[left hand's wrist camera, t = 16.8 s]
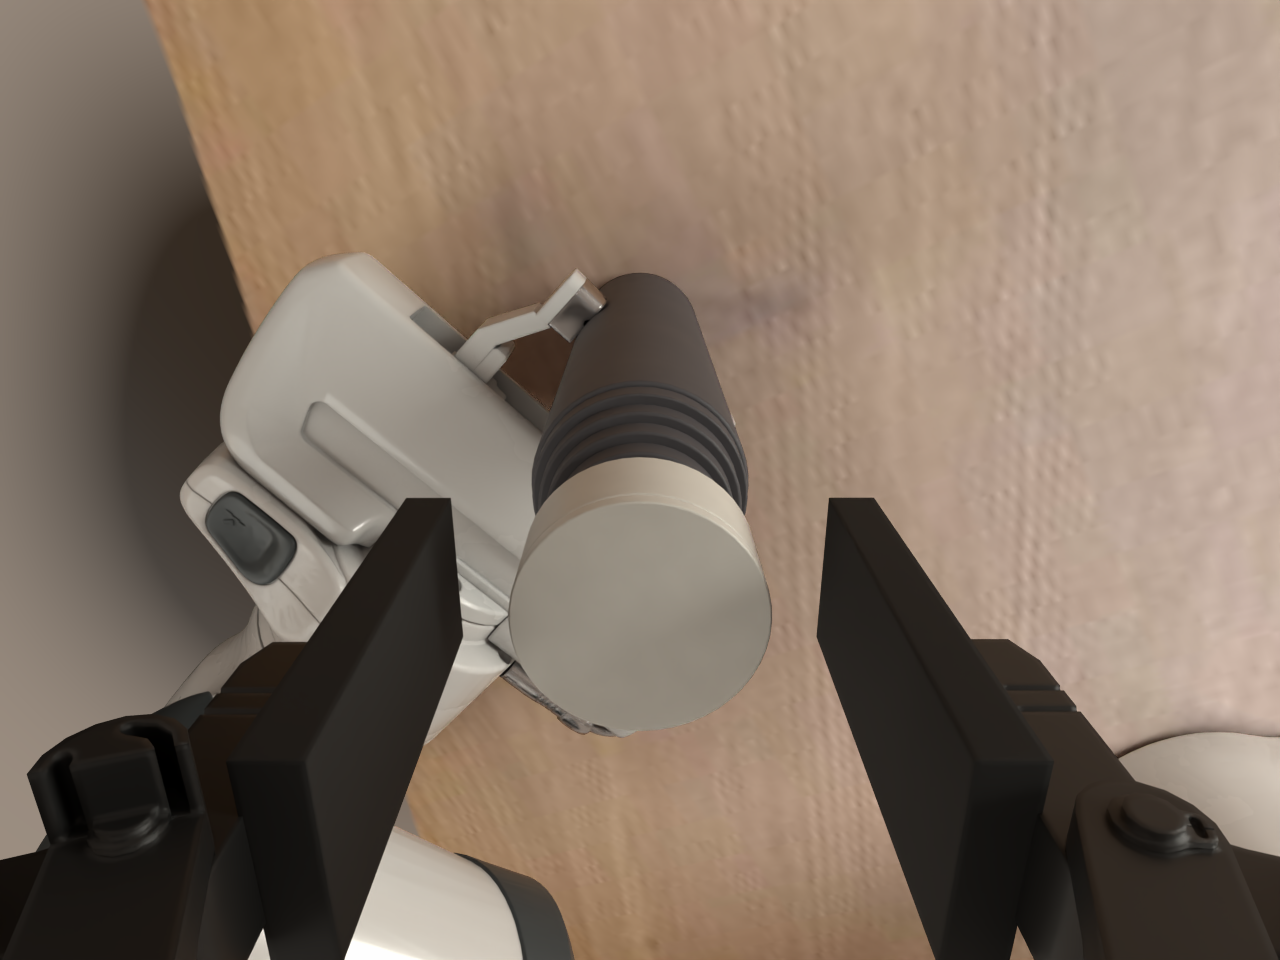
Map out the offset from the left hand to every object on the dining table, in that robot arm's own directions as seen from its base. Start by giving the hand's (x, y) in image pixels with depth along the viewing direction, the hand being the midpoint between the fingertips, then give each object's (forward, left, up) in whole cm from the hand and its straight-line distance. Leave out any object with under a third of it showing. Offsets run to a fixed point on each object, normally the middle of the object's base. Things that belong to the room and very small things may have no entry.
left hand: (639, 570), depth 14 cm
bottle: (0, 0, -21) cm, 21 cm away
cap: (0, 0, +1) cm, 1 cm away
